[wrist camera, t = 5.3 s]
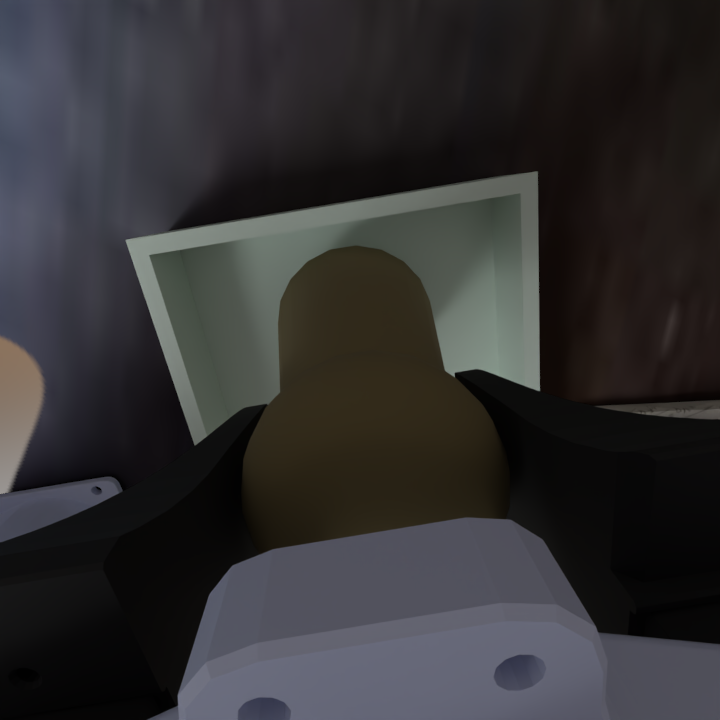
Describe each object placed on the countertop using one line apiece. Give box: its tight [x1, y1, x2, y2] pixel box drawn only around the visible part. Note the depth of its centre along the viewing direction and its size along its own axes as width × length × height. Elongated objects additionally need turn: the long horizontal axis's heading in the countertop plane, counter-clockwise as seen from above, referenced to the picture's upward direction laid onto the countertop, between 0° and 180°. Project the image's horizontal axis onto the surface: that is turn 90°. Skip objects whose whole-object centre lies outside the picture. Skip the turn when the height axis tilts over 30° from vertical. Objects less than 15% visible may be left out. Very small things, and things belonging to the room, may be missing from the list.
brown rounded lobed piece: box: [241, 245, 510, 555], centre depth 12 cm, size 6×6×11 cm
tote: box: [126, 171, 540, 445], centre depth 20 cm, size 14×22×4 cm, turn 9°
